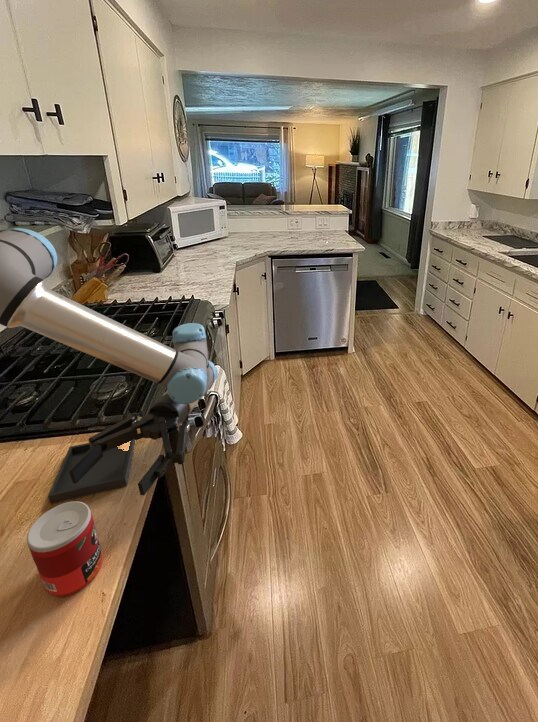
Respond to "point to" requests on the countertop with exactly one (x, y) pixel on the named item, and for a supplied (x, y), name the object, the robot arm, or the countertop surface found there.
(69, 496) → the tray
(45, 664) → the countertop surface
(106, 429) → the robot arm
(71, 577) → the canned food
